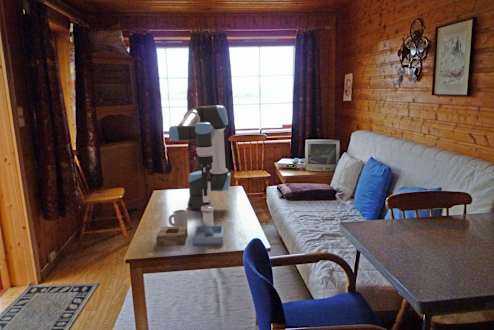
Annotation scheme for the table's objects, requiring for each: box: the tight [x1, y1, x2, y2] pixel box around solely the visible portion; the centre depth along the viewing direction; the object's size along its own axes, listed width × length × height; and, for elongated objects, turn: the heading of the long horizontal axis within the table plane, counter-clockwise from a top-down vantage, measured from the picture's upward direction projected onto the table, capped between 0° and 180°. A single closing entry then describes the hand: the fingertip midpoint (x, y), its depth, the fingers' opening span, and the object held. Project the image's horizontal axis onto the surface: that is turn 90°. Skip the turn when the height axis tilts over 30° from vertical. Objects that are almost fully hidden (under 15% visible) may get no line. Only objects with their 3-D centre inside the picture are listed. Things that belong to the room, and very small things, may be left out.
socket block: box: [156, 225, 189, 247], centre depth 180 cm, size 13×13×5 cm
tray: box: [192, 224, 225, 247], centre depth 180 cm, size 16×14×4 cm
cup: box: [168, 209, 189, 228], centre depth 197 cm, size 7×10×9 cm
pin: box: [200, 204, 215, 237], centre depth 179 cm, size 6×6×15 cm
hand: (207, 198), depth 177 cm, fingers open, 13 cm apart
